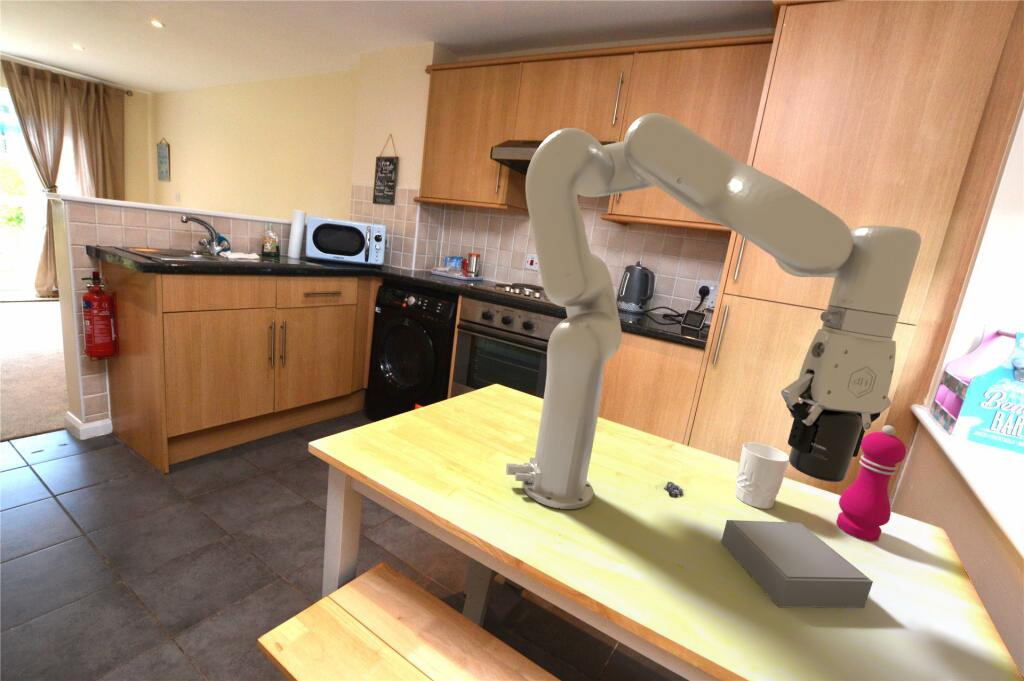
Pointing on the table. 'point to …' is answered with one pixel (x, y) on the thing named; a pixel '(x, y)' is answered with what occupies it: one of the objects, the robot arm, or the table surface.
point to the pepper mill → (871, 486)
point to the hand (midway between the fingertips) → (821, 449)
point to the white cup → (760, 474)
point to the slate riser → (795, 565)
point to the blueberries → (673, 490)
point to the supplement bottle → (829, 446)
